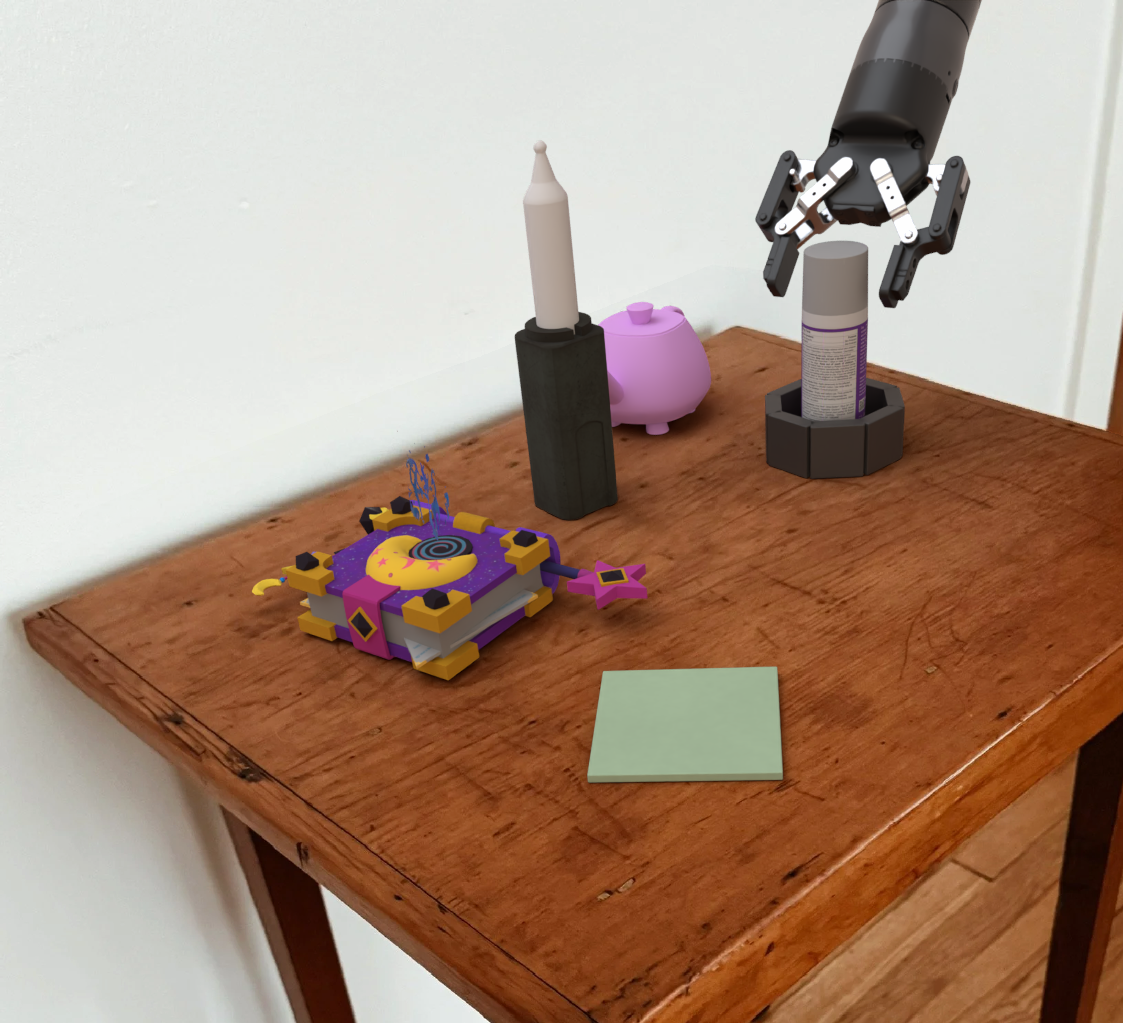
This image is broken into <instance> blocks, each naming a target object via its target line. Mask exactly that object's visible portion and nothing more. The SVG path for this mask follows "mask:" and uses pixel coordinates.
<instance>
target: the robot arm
mask: <svg viewBox="0 0 1123 1023" xmlns="http://www.w3.org/2000/svg"><path fill="white" fill-rule="evenodd" d="M877 1H878V2H877V4H876V6H875V10H874V13H873V16H872V18H871V20H870V23H869V25H868V27H867V29H866V31H865V33H864V35H863V37H862V39H861V42H860V43H859V46H858V49H857V51H856V55H855V57H854V60H853V64H852V66H851V69H850V71H849V75H848V78H847V80H846V84H845V86H844V89H843V92H842V96H841V97H840V101H839V104H838V107H837V110H836V113H835V115H834V117H833V118H834V119H833V121H832V124H831V128H830V131H829V137H828V142H827V146H826V147H825V149H824V151H823V152H822V153H821V154H820V156H818V158H817V159H816V160H815V159H808V158H807V159H806V158H798V157H797V155H796V153H795V151H793V149H792V150H791V149H788V150H786V151H783V152H782V153H781V155H780V156H779V158H778V161H777V164H776V166H775V168H774V171H773V173H772V176H771V178H770V181H769V183H768V185H767V188H766V191H765V192H764V195H763V198H762V200H761V203H760V206H759V208H758V210H757V213H756V215H755V218H754V219H755V220H754V221H755V223H756V224H757V226H758V228H759V229H760V231H761V233H762V234H763V236H764V237H765V239H766V240H767V242H769V243H772V245H771V248H770V250H769V254H768V256H767V260H766V262H765V265H764V268H763V271H762V277H763V280H764V282H765V283H766V288H767V289H768V291H769V292H770V294H771V295H772V297H775V298H784V297H786V294H787V291H788V288H789V285H790V282H791V280H792V277H793V274H794V270H795V269H796V265H797V263H798V262H797V261H798V259H799V256H800V252H799V249H800V248H801V247H802V246H804V245H805V244H806V243H807V242H808V241H809V240H810V239H812V238H813V237H814V236H815V235H822V234H823V233H825V232H826V231H827V230H828V229H830V228H831V227H832V226H833V225H834V224H836V223H837V222H838V223H839V225H844V226H853V225H856V224H857V225H858V224H863V225H866V226H868V227H875V228H881V227H882V225H883V224H884V223H887V222H889V221H892V223H893V226H894V228H895V230H896V233H897V235H898V237H899V239H900V242H899V244H893V247H892V251H891V253H890V256H889V259H888V262H887V265H886V268H885V271H884V274H883V277H882V280H881V283H880V286H879V289H878V298H879V300H880V302H881V304H882V306H883V308H887V309H896V307H897V306H898V303H899V301H901V302H903V301H904V300H905V299H906V298H907V296H909V293H910V290H911V287H912V284H913V281H914V278H915V276H916V272H917V269H918V266H919V264H920V262H921V260H922V259H923V258H924V257H926V256H929V255H932V254H936V253H937V254H938V255H940V256H945V255H948V254H950V253H951V252H952V251H953V249H954V246H955V242H956V239H957V235H958V230H959V228H960V223H961V220H962V217H963V216H962V215H963V212H964V208H965V206H966V205H965V204H966V201H967V197H968V193H969V190H970V186H971V178H970V176H969V171H968V169H967V166H966V163H965V161H964V158H963V157H962V156H960V155H953V156H951V157H950V158H948V159H947V161H946V162H945V163H933V164H931V161H932V160H933V158H934V155H935V152H936V150H937V146H938V144H939V141H940V138H941V135H942V132H943V128H944V126H945V123H946V120H947V117H948V115H949V111H950V107H951V105H952V102H953V99H954V98H955V97H956V94H957V92H958V90H959V82H960V79H961V75H962V71H963V66H964V62H965V56H966V51H967V47H968V43H969V40H970V37H971V34H972V31H973V29H974V26H975V22H976V19H977V17H978V14H979V11H980V7H981V5H982V2H983V0H877ZM813 180H815V184H813V185H812V186H811V187H810V188H809V189H808V190H807V191H806V187H807V185H808V184H809V182H811V181H813ZM930 185H932V188H933V191H934V193H935V196H936V198H935V202H934V205H933V208H932V209H933V210H932V213H931V217H930V221H929V223H928V226H925V227H921V228H917V227H916V224H915V222H914V220H913V218H912V216H911V213H910V211H909V208H908V206H909V205H910V204H911V203H912V202H913V201H914V200H915V199H917V197H919V196H920V195H921V194H922V193H924V192H925V190H927V189H928V187H929V186H930ZM799 193H801V194H802V193H803V194H802V195H801V196H800V197H799V198H798V196H799ZM797 198H798V199H797ZM796 201H797V202H796ZM822 202H823V203H824V205H825V208H824V209H822V210H821V211H820V212H818V208H819V206H820V205H821V203H822ZM795 203H796V206H795ZM794 206H795V207H794Z"/></svg>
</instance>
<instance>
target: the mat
mask: <svg viewBox="0 0 1123 1023" xmlns="http://www.w3.org/2000/svg"><path fill="white" fill-rule="evenodd" d="M778 672H779V671H778V666H746V667H745V666H744V667H743V666H742V667H708V668H707V667H706V668H671V669H669V668H667V669H666V668H665V669H663V668H662V669H632V670H631V669H630V670H629V669H627V670H603V671H602V676H601V681H600V682H601V683H600V689H599V696H598V701H597V709H596V716H595V722H594V729H593V736H592V742H591V748H590V755H589V761H588V767H587V775H586V777H587V782H588V783H637V782H638V783H644V782H645V783H650V782H651V783H652V782H653V783H655V782H657V783H658V782H659V783H660V782H714V781H715V782H724V781H726V782H727V781H729V782H731V781H783V780H784V770H783V769H784V768H783V749H782V748H783V747H782V732H781V731H782V730H781V711H780V692H779V690H780V689H779V674H778Z"/></svg>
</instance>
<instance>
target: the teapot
mask: <svg viewBox="0 0 1123 1023" xmlns="http://www.w3.org/2000/svg"><path fill="white" fill-rule="evenodd" d="M625 309H626V310H622V311H619V312H616V313H613V314H612V315H610V316H608V317H605V319H603V320H602V321H600V323H598V324H597V325H598V326H601V327H602V328H603V329H604V336H605V349H606V361H607V373H608V385H609V397H610V409H611V421H612V428H615V427H617V426H620V425H621V424H627V425H628V424H629V425H645V432H646V433H647V434H649V435H653V436H654V435H655V436H656V435H657V436H658V435H663V434H666V433H668V432H669V431H670V427H669V424H668V423H669V422H672V421H675V420H678V419H680V418H683V417H684V416H686V415H689V414H692V413H694V412H695V411H696V408H697V407H698V406H699V405H700V404H701V402H703V400H704V398H705V397H706V395H707V393H709V390H710V388H711V386H712V385H711V384H712V373H711V368H710V363H709V360H708V359H709V358H708V355H707V353H706V350H705V348H704V346H703V344H702V342H701V340H700V338H699V335H697V333H696V331H695V330H694V329H695V328H693V326H692V325H691V323H690V322H689V320H688V319H687V318H686V316H685V313H684V312H683V310H682V309H681V308H679V307H678V306H674V305H666V306H663V307H661V308H660V309H659V308H658V309H657V308H654V303H651V302H647V301H638V302H633V303H631V304H629V305H627V306H626V308H625Z"/></svg>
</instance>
